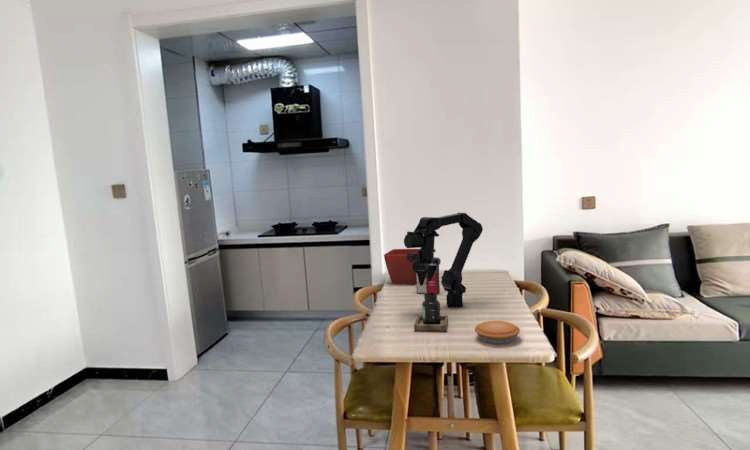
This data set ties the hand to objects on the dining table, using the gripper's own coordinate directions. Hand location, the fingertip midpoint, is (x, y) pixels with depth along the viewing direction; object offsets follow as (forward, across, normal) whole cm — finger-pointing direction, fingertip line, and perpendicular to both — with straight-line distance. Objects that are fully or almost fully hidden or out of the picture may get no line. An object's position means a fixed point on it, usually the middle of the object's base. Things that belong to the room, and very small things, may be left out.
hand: (425, 283), depth 198 cm
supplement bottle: (+12, +16, +10) cm, 22 cm away
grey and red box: (+12, -29, -10) cm, 33 cm away
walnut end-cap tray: (+12, +16, +10) cm, 23 cm away
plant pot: (+13, -49, -30) cm, 58 cm away
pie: (+11, +21, +36) cm, 43 cm away
